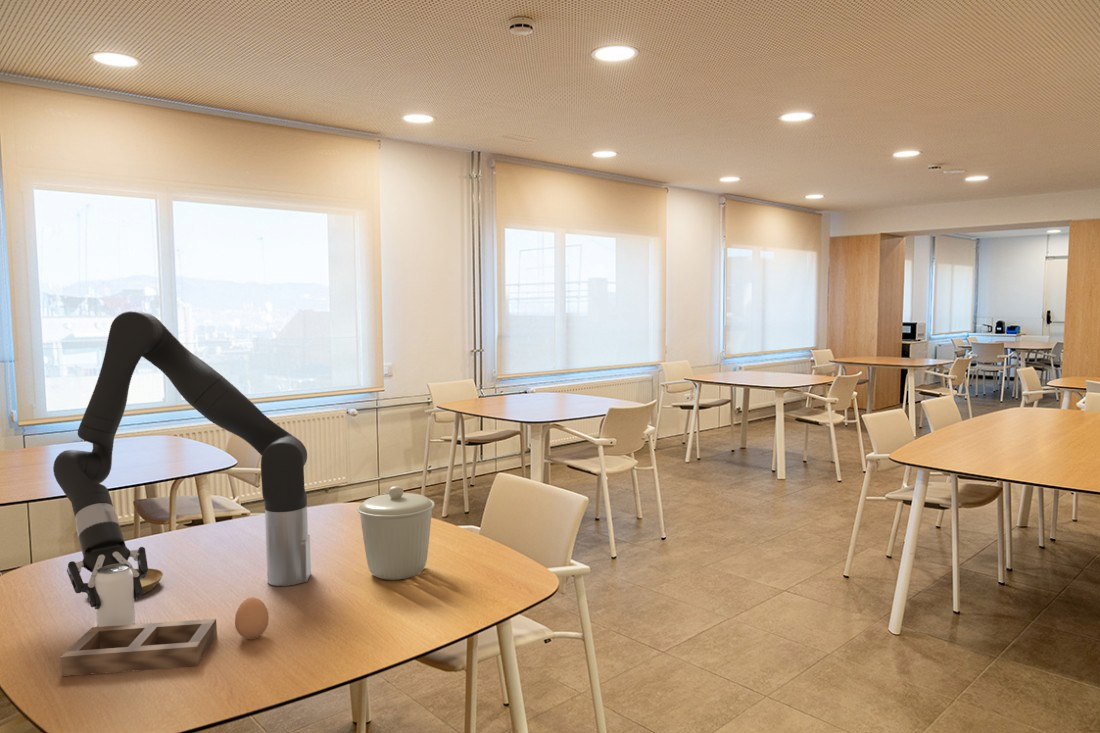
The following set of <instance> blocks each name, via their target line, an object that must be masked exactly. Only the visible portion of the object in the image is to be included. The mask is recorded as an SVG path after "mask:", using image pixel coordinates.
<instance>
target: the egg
mask: <svg viewBox="0 0 1100 733" xmlns="http://www.w3.org/2000/svg"><path fill="white" fill-rule="evenodd" d="M236 610H237V611H236V612H235V616H234V617H235V618H234V626H235V627H234V628H235V630H236V631H237V633H238V634H239V636H241V638H244V639H247V640H255V639H258V638H259V637H260V636H262V635H263V634H264V632H266V630H267V627H268V626H269V622H270V620H269V619H270V617H269V615H270V614H269V611H268V608H267V606H266V604H265V603H264V602H263V601H262V600H261V599H260V598H258V597H254V596H251V597H248V598H246V599H245V600H243V601H242V602H241V603H240V605H239V606H238V608H237V609H236Z"/></svg>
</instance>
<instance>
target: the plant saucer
mask: <svg viewBox="0 0 1100 733" xmlns="http://www.w3.org/2000/svg"><path fill="white" fill-rule="evenodd" d="M134 569H135V570H136V571H137V572H138V571H139V569H138V568H134ZM163 576H164V572H163V571H162V570H160V569H157V568H149V567H148V572H147V574H146V577H145V578H141V579H140V582H141V586H142V589H143V590H142V594H141V595H143V594H146V593H148V592H149V590H150V591H151V590H153V588H155V587H156V586H157V584H158V583H159V582H160V581H161V580H162V578H163ZM147 591H148V592H147ZM145 592H146V593H145Z"/></svg>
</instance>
